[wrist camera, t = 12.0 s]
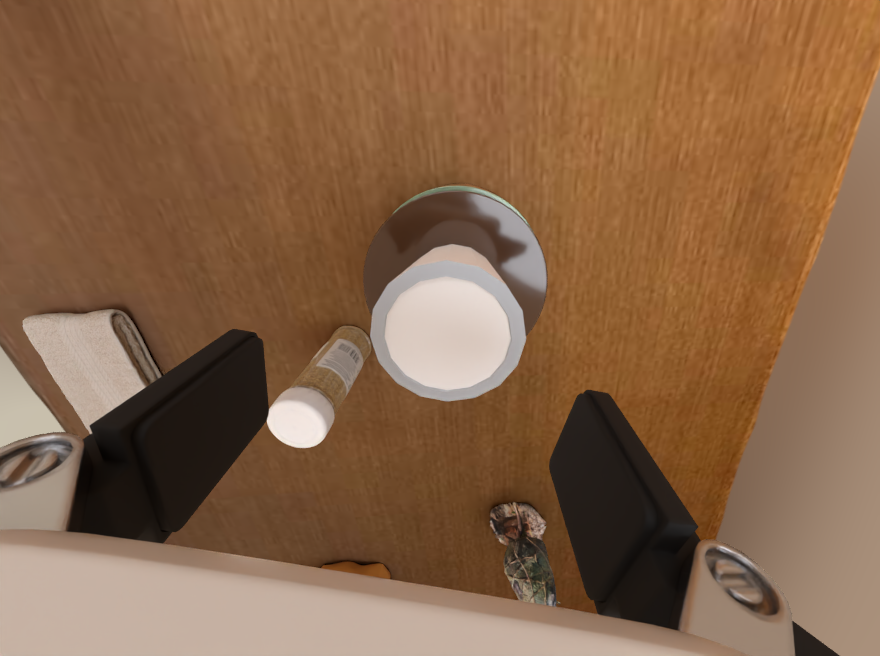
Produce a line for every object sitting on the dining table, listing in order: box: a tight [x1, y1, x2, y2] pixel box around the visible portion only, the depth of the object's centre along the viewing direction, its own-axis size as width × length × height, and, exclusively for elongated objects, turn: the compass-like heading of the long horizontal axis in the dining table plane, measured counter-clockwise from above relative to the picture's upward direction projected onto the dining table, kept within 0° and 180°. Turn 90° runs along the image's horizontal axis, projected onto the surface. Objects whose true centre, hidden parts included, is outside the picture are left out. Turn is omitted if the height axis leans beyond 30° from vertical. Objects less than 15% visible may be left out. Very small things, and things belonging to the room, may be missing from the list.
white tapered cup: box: [370, 244, 526, 401], centre depth 17 cm, size 7×7×7 cm
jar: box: [363, 183, 547, 336], centre depth 26 cm, size 12×12×12 cm
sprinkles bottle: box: [267, 326, 372, 448], centre depth 30 cm, size 5×5×14 cm
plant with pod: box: [490, 502, 560, 607], centre depth 37 cm, size 8×11×20 cm
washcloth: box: [23, 309, 162, 434], centre depth 39 cm, size 12×18×3 cm, turn 5°
